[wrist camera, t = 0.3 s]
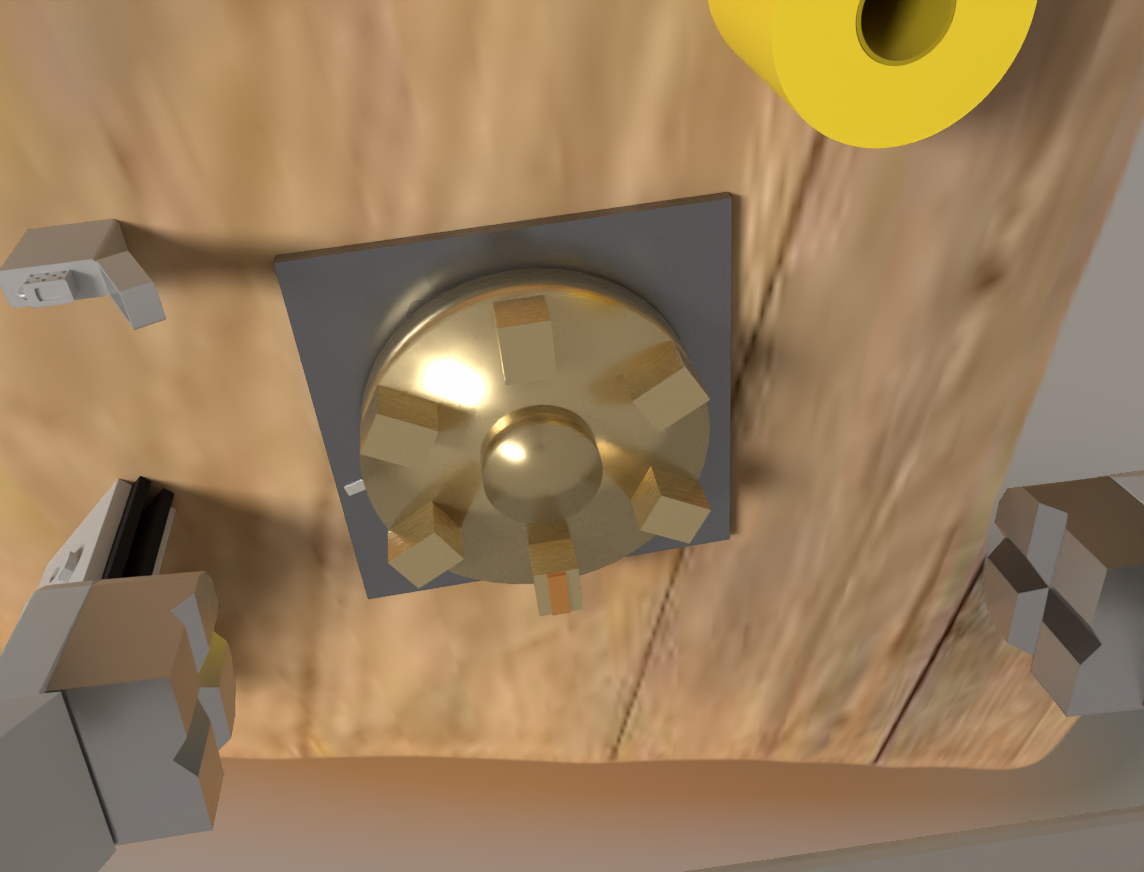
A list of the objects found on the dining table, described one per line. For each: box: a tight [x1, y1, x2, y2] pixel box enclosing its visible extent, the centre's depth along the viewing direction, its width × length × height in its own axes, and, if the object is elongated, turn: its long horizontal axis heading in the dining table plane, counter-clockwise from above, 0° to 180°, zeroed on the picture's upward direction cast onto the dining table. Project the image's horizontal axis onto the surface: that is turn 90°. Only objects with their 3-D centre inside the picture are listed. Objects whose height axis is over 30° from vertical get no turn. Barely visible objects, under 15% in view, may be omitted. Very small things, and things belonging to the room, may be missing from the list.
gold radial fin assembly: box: [360, 268, 711, 616], centre depth 53 cm, size 18×18×6 cm
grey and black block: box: [20, 476, 176, 618], centre depth 54 cm, size 14×5×10 cm, turn 150°
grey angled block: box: [0, 219, 166, 330], centre depth 44 cm, size 7×2×8 cm, turn 94°
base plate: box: [274, 192, 732, 599], centre depth 55 cm, size 22×22×1 cm
